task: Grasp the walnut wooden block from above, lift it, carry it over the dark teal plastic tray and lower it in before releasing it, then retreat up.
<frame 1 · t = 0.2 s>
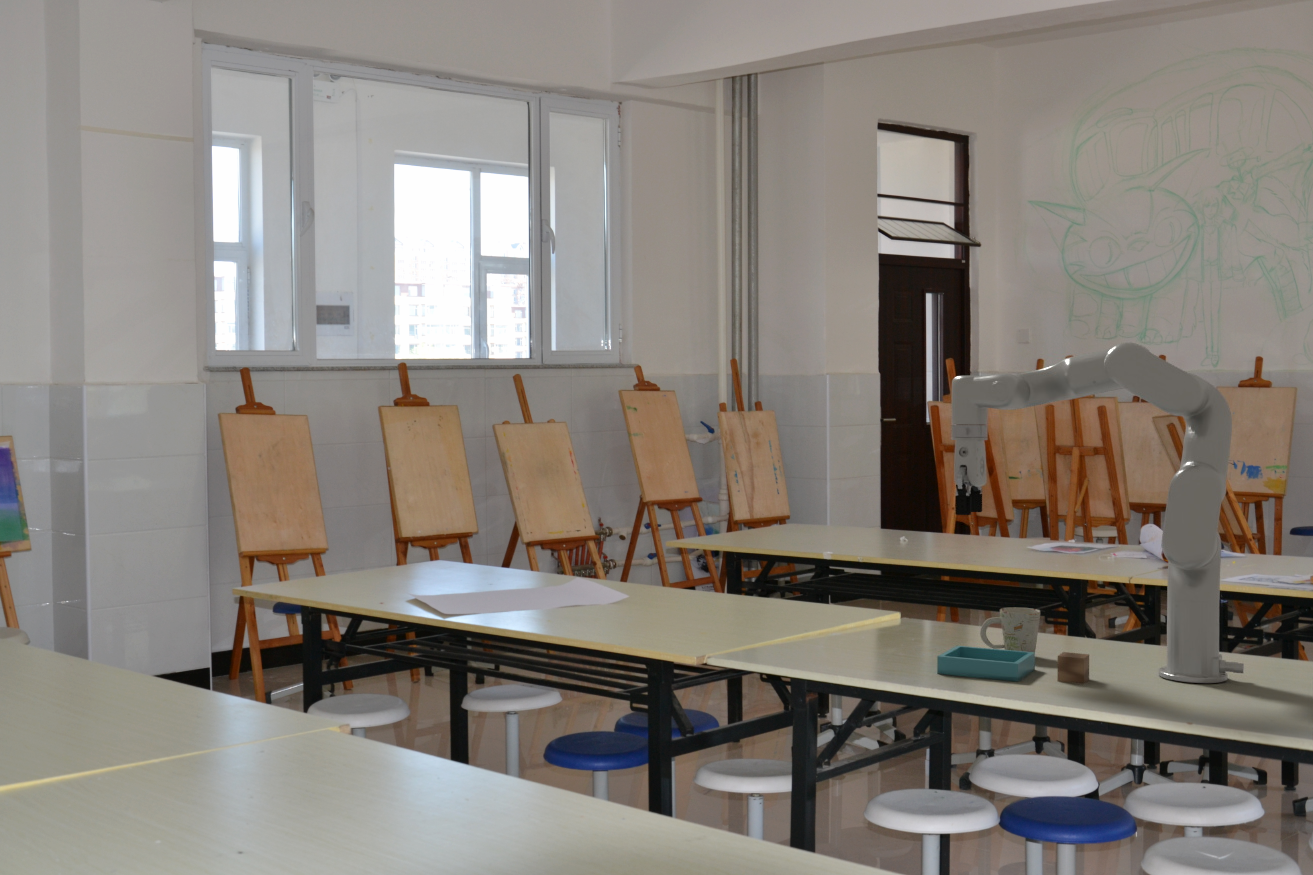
hand: (968, 513, 273), 31 cm above the table, tool pointing down, fingers open, 9 cm apart
block: (1073, 680, 250), on the table
tray: (986, 671, 258), on the table
mug: (1009, 657, 275), on the table
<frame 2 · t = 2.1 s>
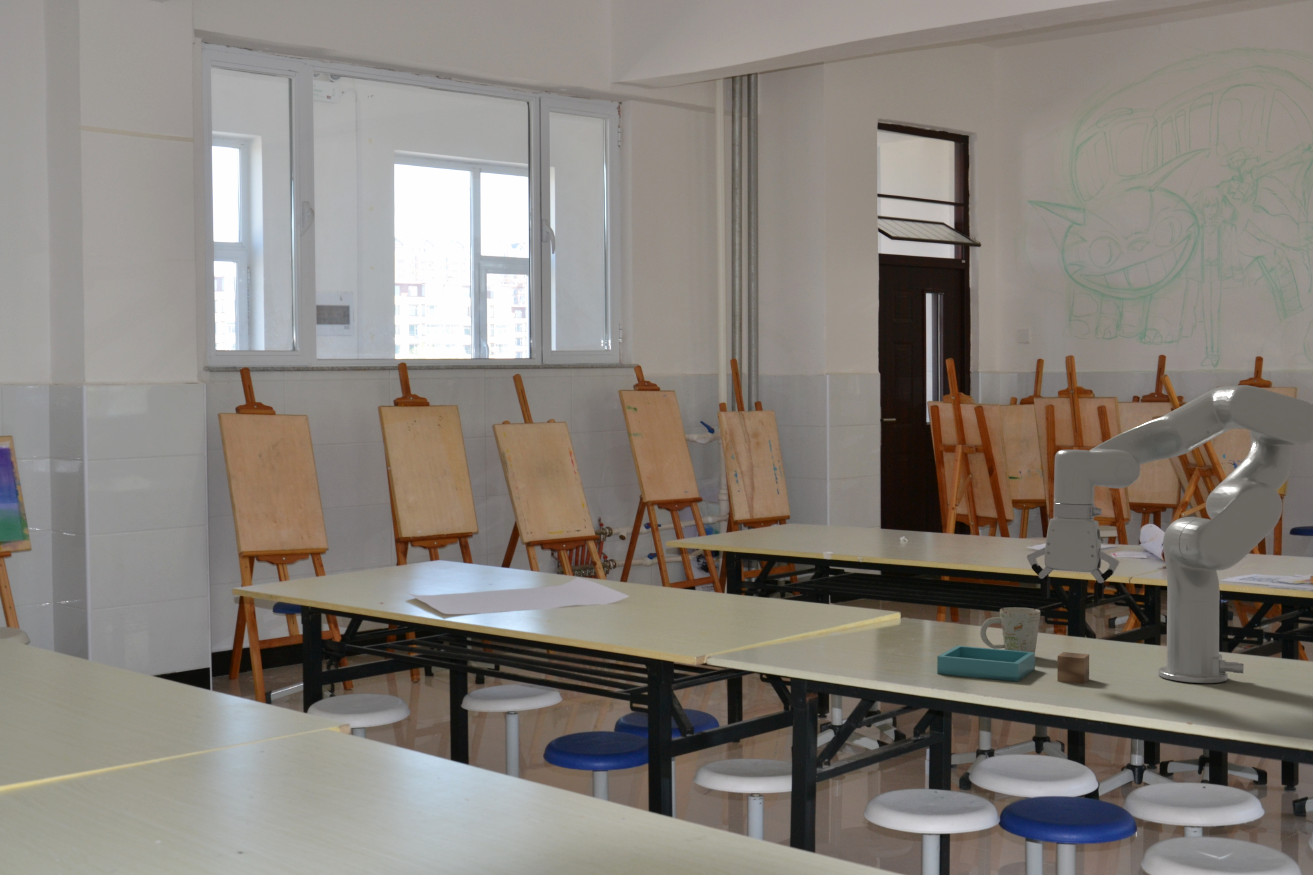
hand: (1071, 600, 249), 16 cm above the table, tool pointing down, fingers open, 9 cm apart
nothing on the table moved.
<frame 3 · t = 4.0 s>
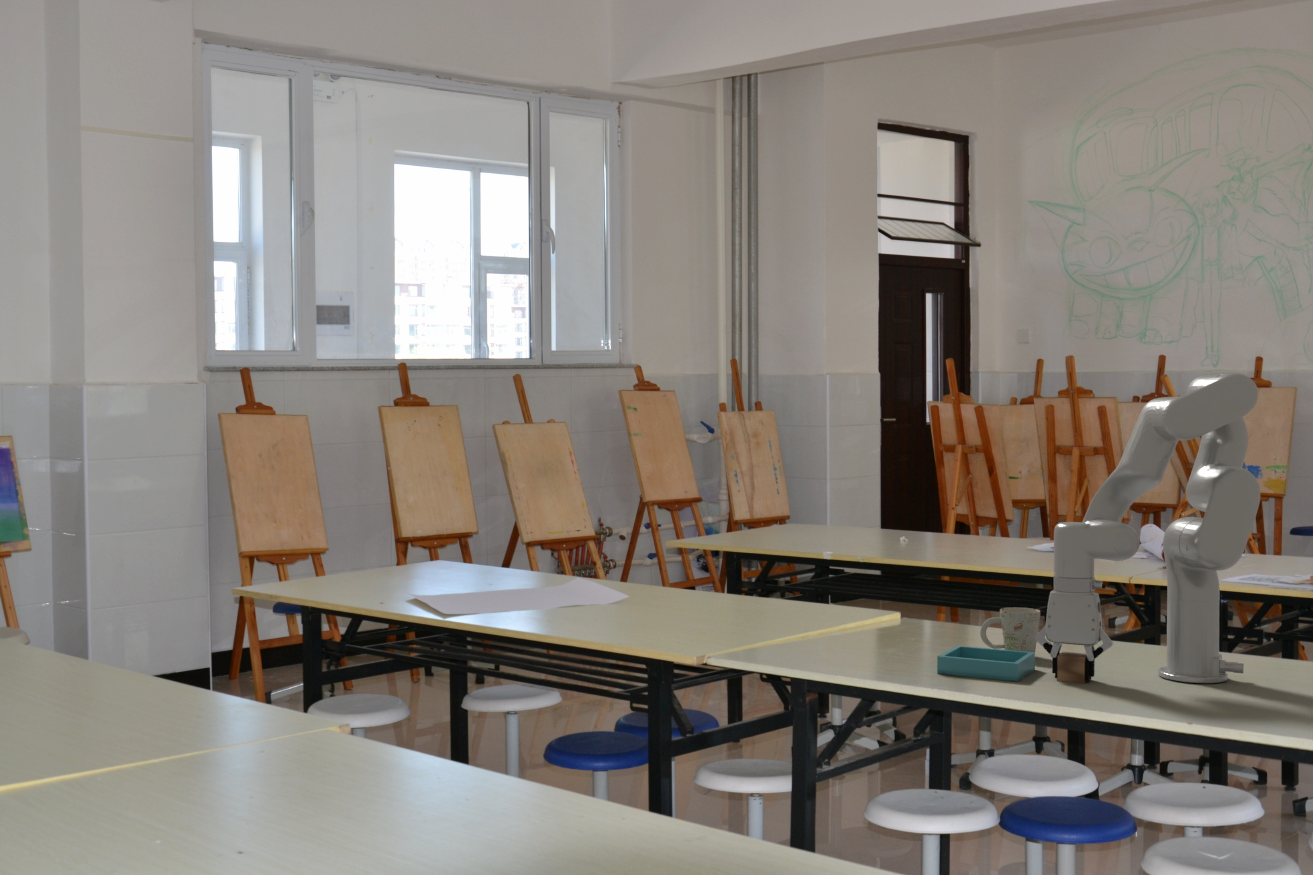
hand: (1073, 677, 250), 0 cm above the table, tool pointing down, fingers closed on block, 5 cm apart
block: (1073, 680, 250), on the table, touching gripper
everything else where it was.
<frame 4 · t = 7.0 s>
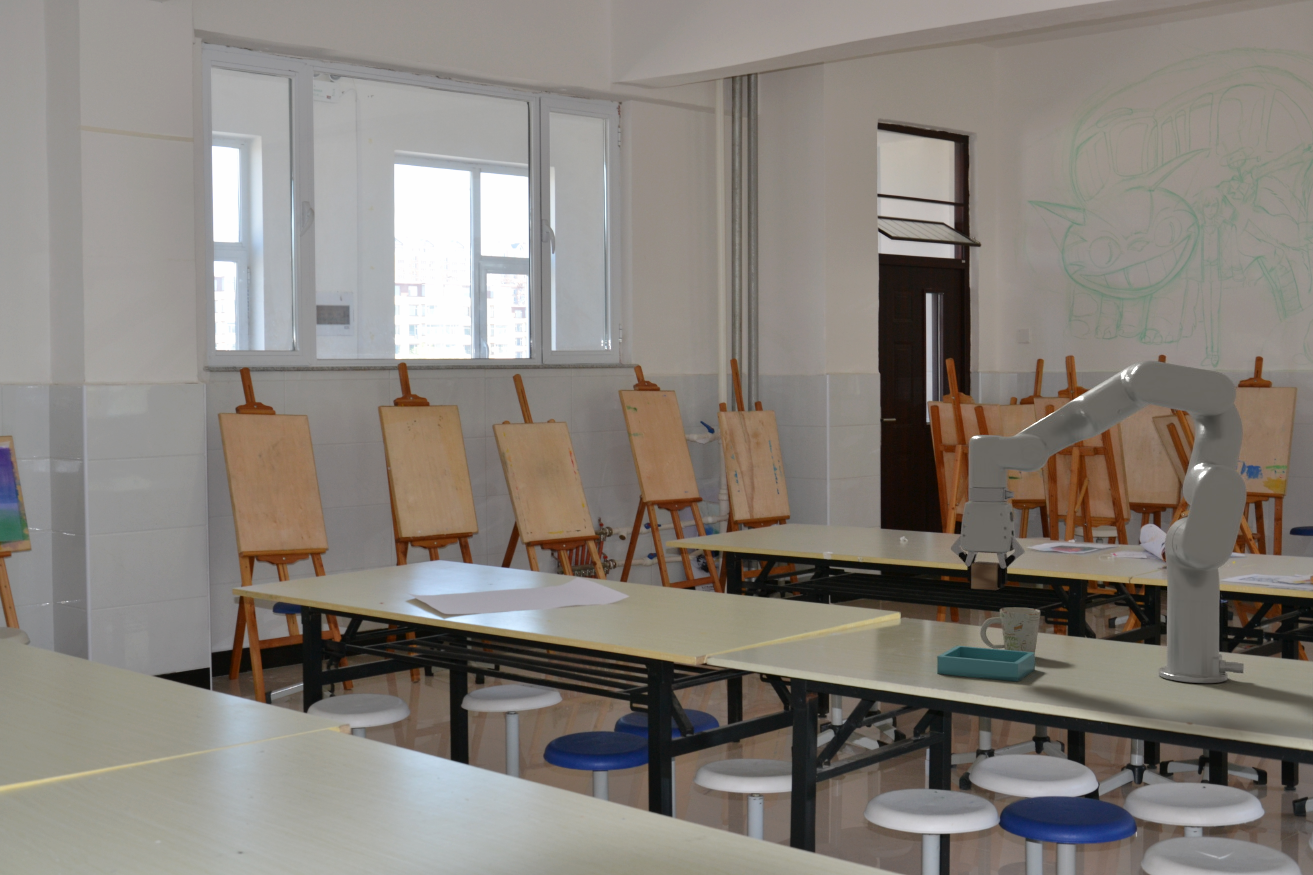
hand: (987, 585, 258), 17 cm above the table, tool pointing down, fingers closed on block, 5 cm apart
block: (986, 587, 258), point 17 cm above the table, touching gripper
everything else where it was.
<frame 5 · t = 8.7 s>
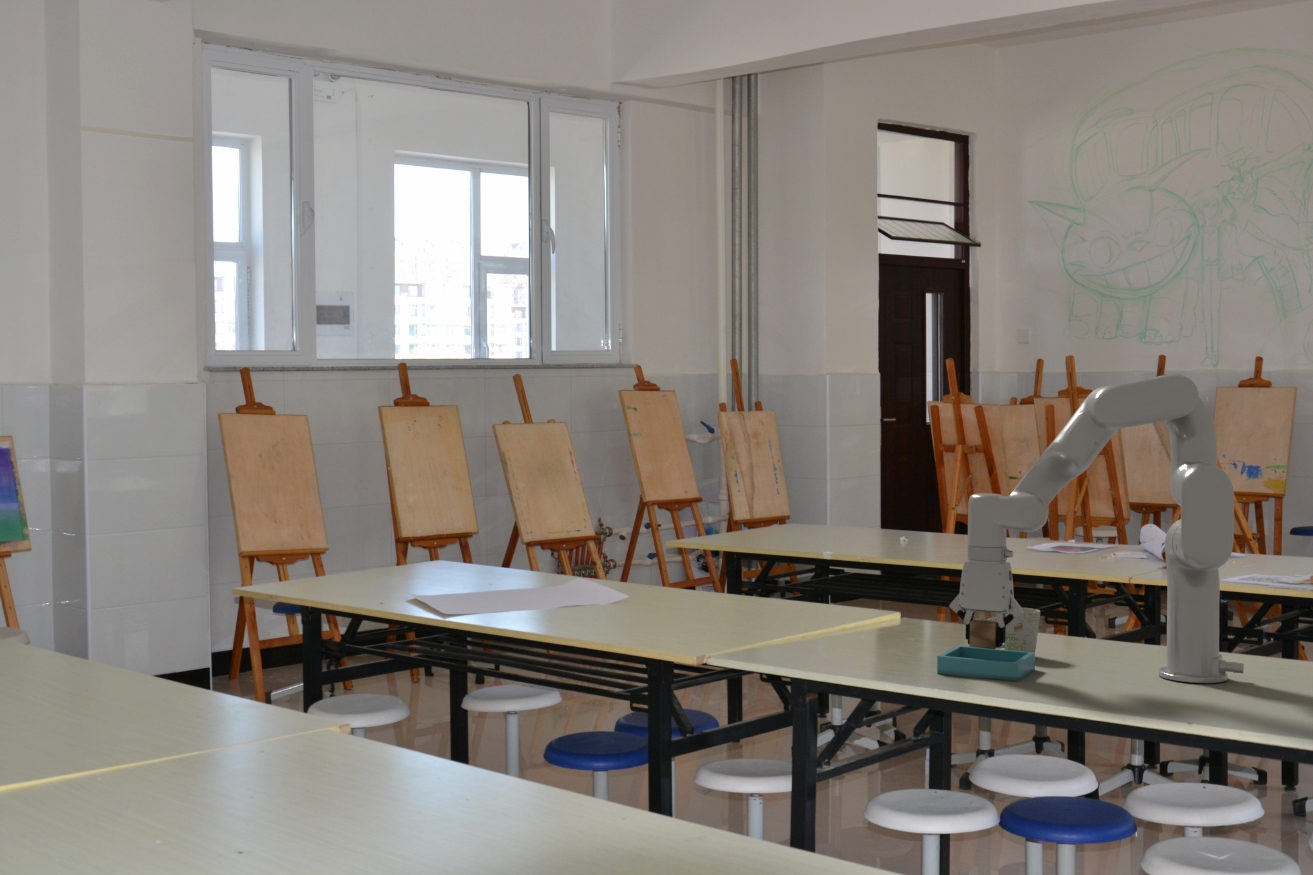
hand: (985, 643, 258), 6 cm above the table, tool pointing down, fingers closed on block, 5 cm apart
block: (985, 646, 258), point 5 cm above the table, touching gripper
everything else where it was.
when the fingers open (3 cm above the table, at t = 9.9 s): block drops 2 cm, resting on tray.
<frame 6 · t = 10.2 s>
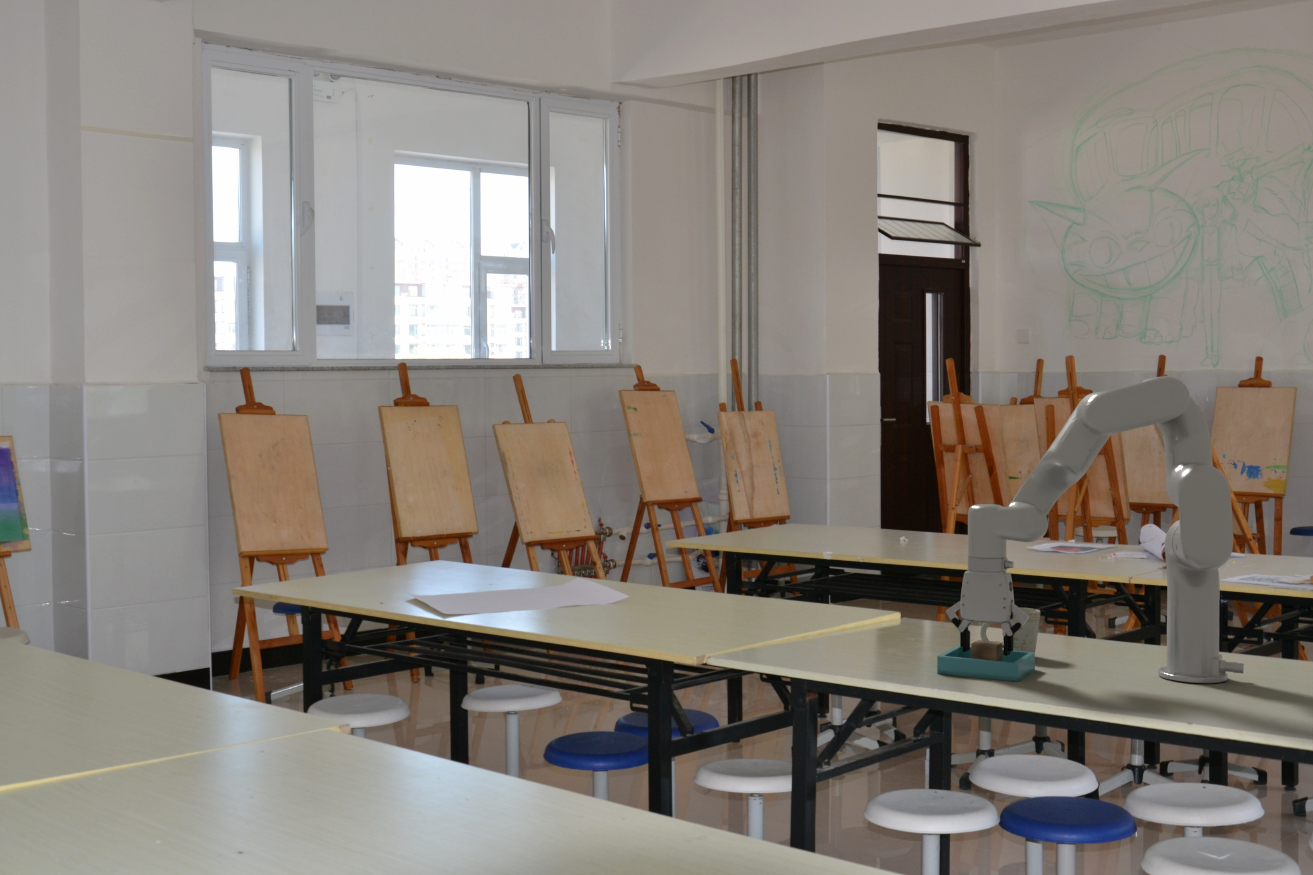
hand: (986, 652, 258), 4 cm above the table, tool pointing down, fingers open, 7 cm apart
block: (986, 667, 258), point 1 cm above the table, touching tray
everything else where it was.
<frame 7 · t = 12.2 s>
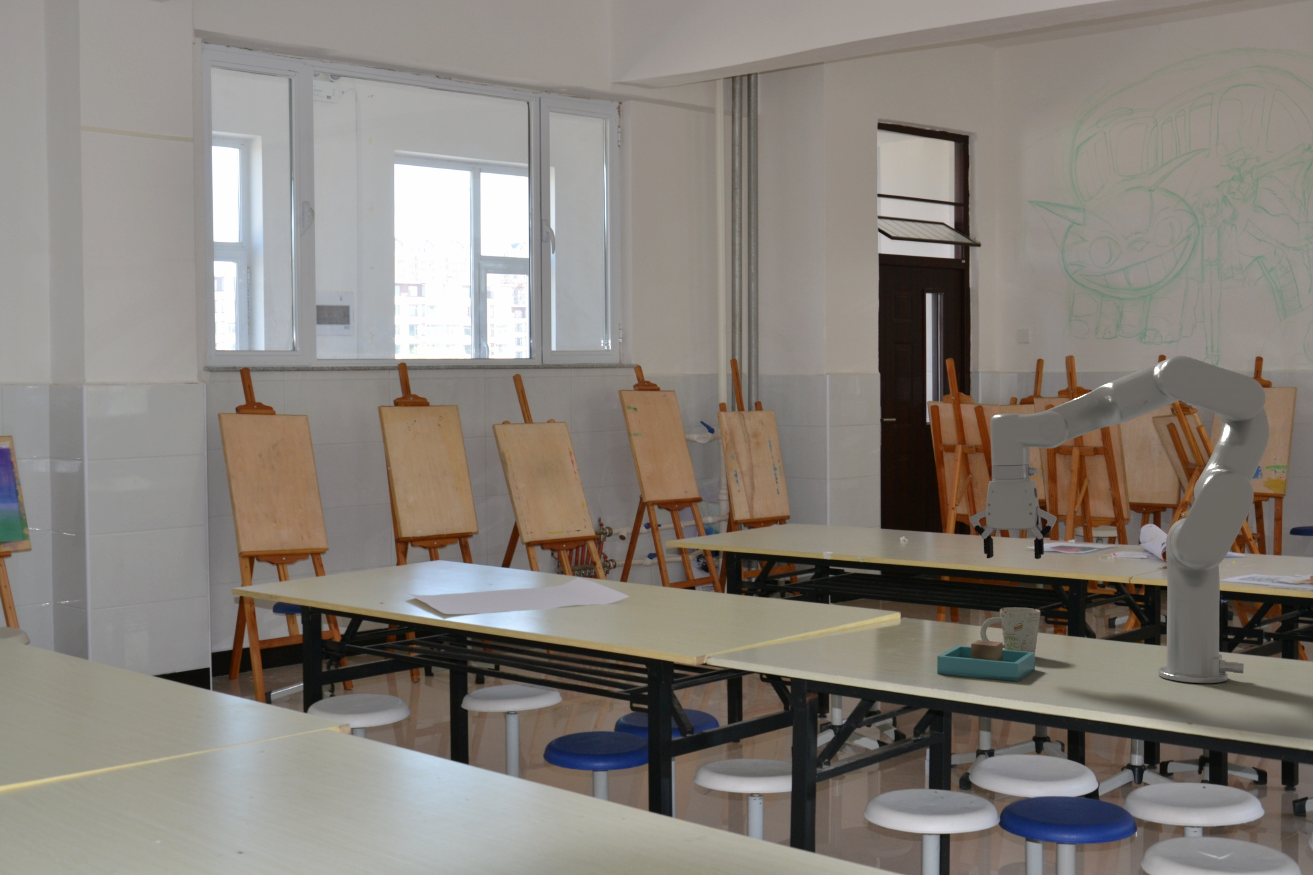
hand: (1013, 557, 260), 23 cm above the table, tool pointing down, fingers open, 9 cm apart
nothing on the table moved.
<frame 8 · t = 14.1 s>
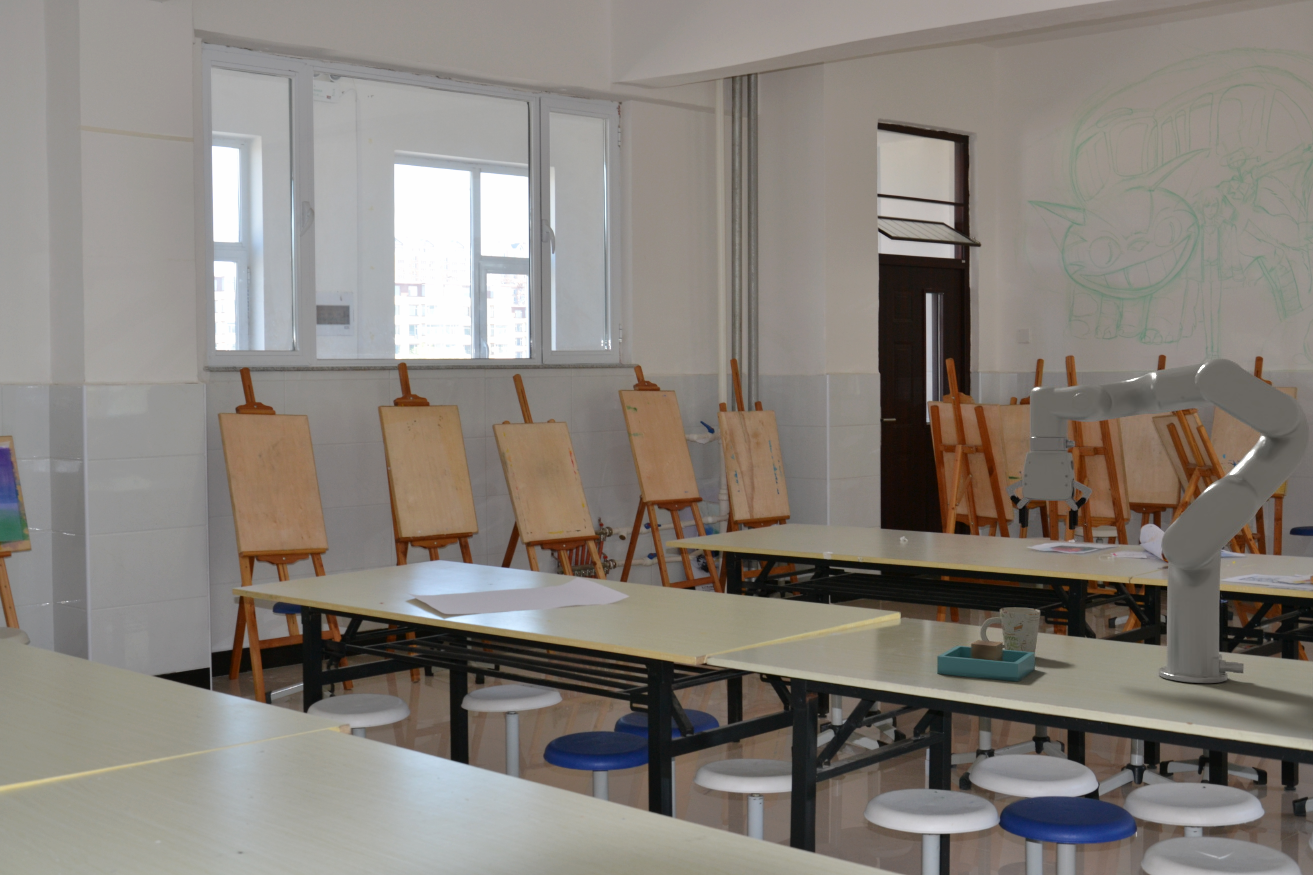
hand: (1048, 528, 265), 28 cm above the table, tool pointing down, fingers open, 9 cm apart
nothing on the table moved.
at the end: block inside the target area on the tray (0.1 cm from its centre), point 0.8 cm above the tray's base; the gripper is holding nothing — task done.
